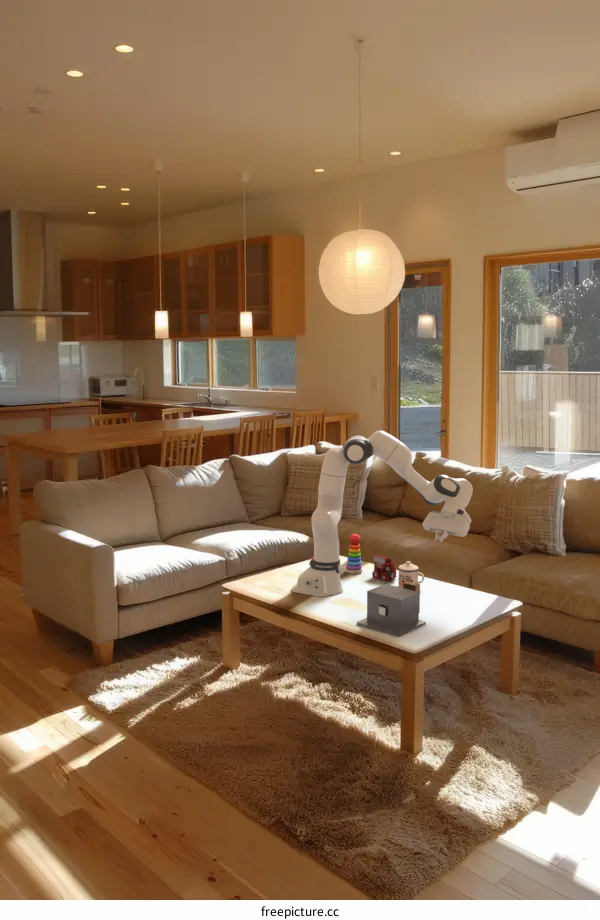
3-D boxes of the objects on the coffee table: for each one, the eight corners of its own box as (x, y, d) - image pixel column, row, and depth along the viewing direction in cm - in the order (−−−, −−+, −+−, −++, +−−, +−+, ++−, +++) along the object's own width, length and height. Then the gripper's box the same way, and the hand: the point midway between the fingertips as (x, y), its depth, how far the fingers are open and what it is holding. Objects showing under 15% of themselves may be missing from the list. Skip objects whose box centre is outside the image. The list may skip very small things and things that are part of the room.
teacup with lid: (394, 588, 362) (395, 562, 361) (402, 582, 370) (402, 557, 368) (420, 592, 357) (420, 566, 355) (427, 586, 364) (427, 561, 363)
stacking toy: (352, 575, 381) (353, 536, 378) (342, 571, 387) (342, 533, 384) (365, 572, 386) (365, 534, 383) (354, 569, 392) (355, 531, 389)
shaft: (406, 609, 330) (407, 581, 328) (419, 613, 326) (420, 584, 324) (375, 623, 315) (375, 593, 313) (388, 627, 310) (388, 596, 309)
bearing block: (384, 613, 330) (384, 581, 328) (425, 624, 317) (426, 592, 315) (356, 624, 317) (356, 592, 315) (398, 637, 304) (399, 603, 302)
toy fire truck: (390, 583, 369) (390, 561, 368) (369, 577, 378) (369, 556, 376) (399, 580, 374) (400, 558, 373) (378, 574, 383) (379, 553, 381)
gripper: (427, 505, 347) (414, 532, 341) (469, 512, 333) (456, 540, 328) (433, 514, 351) (420, 540, 345) (475, 521, 337) (462, 549, 332)
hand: (438, 540), depth 336 cm, fingers closed
